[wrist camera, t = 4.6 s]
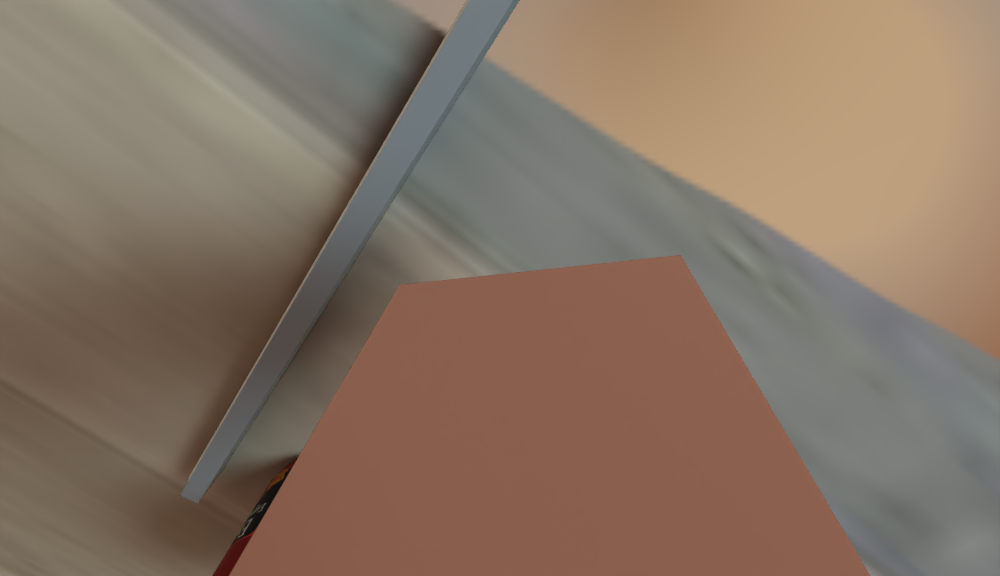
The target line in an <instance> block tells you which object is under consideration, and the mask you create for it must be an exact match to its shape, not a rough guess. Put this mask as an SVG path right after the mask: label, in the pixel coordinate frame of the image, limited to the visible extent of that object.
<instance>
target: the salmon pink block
mask: <svg viewBox="0 0 1000 576" xmlns="http://www.w3.org/2000/svg"><path fill="white" fill-rule="evenodd" d="M229 576H870V575H869V573H868V571H867V569H866V568H865V566H864V564H863V563H862V561H861V559H860V558H859V556H858V554H857V553H856V551H855V549H854V547H853V546H852V544H851V542H850V541H849V539H848V537H847V536H846V534H845V532H844V531H843V529H842V527H841V526H840V524H839V522H838V520H837V519H836V517H835V515H834V514H833V512H832V510H831V509H830V507H829V505H828V504H827V502H826V500H825V498H824V497H823V495H822V493H821V492H820V490H819V488H818V487H817V485H816V483H815V482H814V480H813V478H812V477H811V475H810V473H809V471H808V470H807V468H806V466H805V465H804V463H803V461H802V460H801V458H800V456H799V455H798V453H797V451H796V449H795V448H794V446H793V444H792V443H791V441H790V439H789V438H788V436H787V434H786V433H785V431H784V429H783V428H782V426H781V424H780V422H779V421H778V419H777V417H776V416H775V414H774V412H773V411H772V409H771V407H770V406H769V404H768V402H767V400H766V399H765V397H764V395H763V394H762V392H761V390H760V389H759V387H758V385H757V384H756V382H755V380H754V379H753V377H752V375H751V373H750V372H749V370H748V368H747V367H746V365H745V363H744V362H743V360H742V358H741V357H740V355H739V353H738V351H737V350H736V348H735V346H734V345H733V343H732V341H731V340H730V338H729V336H728V335H727V333H726V331H725V330H724V328H723V326H722V324H721V323H720V321H719V319H718V318H717V316H716V314H715V313H714V311H713V309H712V308H711V306H710V304H709V302H708V301H707V299H706V297H705V296H704V294H703V292H702V291H701V289H700V287H699V286H698V284H697V282H696V281H695V279H694V277H693V275H692V274H691V272H690V270H689V269H688V267H687V265H686V264H685V262H684V260H683V259H682V257H681V255H677V256H668V257H658V258H649V259H639V260H630V261H620V262H611V263H602V264H592V265H583V266H573V267H564V268H555V269H545V270H536V271H526V272H517V273H507V274H498V275H489V276H479V277H470V278H460V279H451V280H442V281H432V282H423V283H413V284H404V285H399V287H398V288H397V290H396V292H395V293H394V295H393V297H392V298H391V300H390V302H389V304H388V305H387V307H386V309H385V310H384V312H383V314H382V316H381V317H380V319H379V321H378V322H377V324H376V326H375V327H374V329H373V331H372V333H371V334H370V336H369V338H368V339H367V341H366V343H365V345H364V346H363V348H362V350H361V351H360V353H359V355H358V357H357V358H356V360H355V362H354V363H353V365H352V367H351V368H350V370H349V372H348V374H347V375H346V377H345V379H344V380H343V382H342V384H341V386H340V387H339V389H338V391H337V392H336V394H335V396H334V397H333V399H332V401H331V403H330V404H329V406H328V408H327V409H326V411H325V413H324V415H323V416H322V418H321V420H320V421H319V423H318V425H317V426H316V428H315V430H314V432H313V433H312V435H311V437H310V438H309V440H308V442H307V444H306V445H305V447H304V449H303V450H302V452H301V454H300V455H299V457H298V459H297V461H296V462H295V464H294V466H293V467H292V469H291V471H290V473H289V474H288V476H287V478H286V479H285V481H284V483H283V484H282V486H281V488H280V490H279V491H278V493H277V495H276V496H275V498H274V500H273V502H272V503H271V505H270V507H269V508H268V510H267V512H266V514H265V515H264V517H263V519H262V520H261V522H260V524H259V525H258V527H257V529H256V531H255V532H254V534H253V536H252V537H251V539H250V541H249V543H248V544H247V546H246V548H245V549H244V551H243V553H242V554H241V556H240V558H239V560H238V561H237V563H236V565H235V566H234V568H233V570H232V572H231V573H230V575H229Z"/></svg>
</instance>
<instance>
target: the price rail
mask: <svg viewBox="0 0 1000 576" xmlns="http://www.w3.org/2000/svg"><path fill="white" fill-rule="evenodd" d="M519 1H520V0H467V1H466V2H465V4H464V6H463V7H462V9H461V11H460V13H459V14H458V16H457V18H456V19H455V21H454V23H453V24H452V26H451V28H450V30H449V31H448V33H447V35H446V36H445V38H444V40H443V42H442V43H441V45H440V47H439V48H438V50H437V52H436V54H435V55H434V57H433V59H432V60H431V62H430V64H429V66H428V67H427V69H426V71H425V72H424V74H423V76H422V78H421V79H420V81H419V83H418V84H417V86H416V88H415V90H414V91H413V93H412V95H411V96H410V98H409V100H408V102H407V103H406V105H405V107H404V109H403V110H402V112H401V114H400V115H399V117H398V119H397V121H396V122H395V124H394V126H393V127H392V129H391V131H390V133H389V134H388V136H387V138H386V139H385V141H384V143H383V145H382V146H381V148H380V150H379V151H378V153H377V155H376V157H375V158H374V160H373V162H372V163H371V165H370V167H369V169H368V170H367V172H366V174H365V175H364V177H363V179H362V181H361V182H360V184H359V186H358V188H357V189H356V191H355V193H354V194H353V196H352V198H351V200H350V201H349V203H348V205H347V206H346V208H345V210H344V212H343V213H342V215H341V217H340V218H339V220H338V222H337V224H336V225H335V227H334V229H333V230H332V232H331V234H330V236H329V237H328V239H327V241H326V242H325V244H324V246H323V248H322V249H321V251H320V253H319V254H318V256H317V258H316V260H315V261H314V263H313V265H312V267H311V268H310V270H309V272H308V273H307V275H306V277H305V279H304V280H303V282H302V284H301V285H300V287H299V289H298V291H297V292H296V294H295V296H294V297H293V299H292V301H291V303H290V304H289V306H288V308H287V309H286V311H285V313H284V315H283V316H282V318H281V320H280V321H279V323H278V325H277V327H276V328H275V330H274V332H273V334H272V335H271V337H270V339H269V340H268V342H267V344H266V346H265V347H264V349H263V351H262V352H261V354H260V356H259V358H258V359H257V361H256V363H255V364H254V366H253V368H252V370H251V371H250V373H249V375H248V376H247V378H246V380H245V382H244V383H243V385H242V387H241V388H240V390H239V392H238V394H237V395H236V397H235V399H234V400H233V402H232V404H231V406H230V407H229V409H228V411H227V413H226V414H225V416H224V418H223V419H222V421H221V423H220V425H219V426H218V428H217V430H216V431H215V433H214V435H213V437H212V438H211V440H210V442H209V443H208V445H207V447H206V449H205V450H204V452H203V454H202V455H201V457H200V459H199V461H198V462H197V464H196V466H195V467H194V469H193V471H192V473H191V474H190V476H189V478H188V480H189V481H188V483H187V484H186V486H185V488H184V489H183V491H182V493H181V495H180V496H182V497H184V498H186V499H188V500H190V501H192V502H195V503H197V504H198V503H199V501H200V500H201V499H202V497H203V496H204V495H205V493H206V492H207V491H208V489H209V488H210V487H211V485H212V484H213V483H214V481H215V480H216V478H217V477H218V476H219V474H220V473H221V471H222V470H223V468H224V467H225V465H226V464H227V462H228V460H229V459H230V457H231V456H232V454H233V452H234V451H235V449H236V448H237V446H238V445H239V443H240V441H241V440H242V438H243V437H244V435H245V433H246V432H247V430H248V429H249V427H250V426H251V424H252V422H253V421H254V419H255V418H256V416H257V415H258V413H259V411H260V410H261V408H262V407H263V405H264V403H265V402H266V400H267V399H268V397H269V396H270V394H271V392H272V391H273V389H274V388H275V386H276V385H277V383H278V381H279V380H280V378H281V377H282V375H283V373H284V372H285V370H286V369H287V367H288V366H289V364H290V362H291V361H292V359H293V358H294V356H295V354H296V353H297V351H298V350H299V348H300V347H301V345H302V343H303V342H304V340H305V339H306V337H307V336H308V334H309V332H310V331H311V329H312V328H313V326H314V324H315V323H316V321H317V320H318V318H319V317H320V315H321V313H322V312H323V310H324V309H325V307H326V306H327V304H328V302H329V301H330V299H331V298H332V296H333V294H334V293H335V291H336V290H337V288H338V287H339V285H340V283H341V282H342V280H343V279H344V277H345V275H346V274H347V272H348V271H349V269H350V268H351V266H352V264H353V263H354V261H355V260H356V258H357V257H358V255H359V253H360V252H361V250H362V249H363V247H364V245H365V244H366V242H367V241H368V239H369V238H370V236H371V234H372V233H373V231H374V230H375V228H376V227H377V225H378V223H379V222H380V220H381V219H382V217H383V215H384V214H385V212H386V211H387V209H388V208H389V206H390V204H391V203H392V201H393V200H394V198H395V196H396V195H397V193H398V192H399V190H400V189H401V187H402V185H403V184H404V182H405V181H406V179H407V178H408V176H409V174H410V173H411V171H412V170H413V168H414V166H415V165H416V163H417V162H418V160H419V159H420V157H421V155H422V154H423V152H424V151H425V149H426V148H427V146H428V144H429V143H430V141H431V140H432V138H433V136H434V135H435V133H436V132H437V130H438V129H439V127H440V125H441V124H442V122H443V121H444V119H445V117H446V116H447V114H448V113H449V111H450V110H451V108H452V106H453V105H454V103H455V102H456V100H457V99H458V97H459V95H460V94H461V92H462V91H463V89H464V87H465V86H466V84H467V83H468V81H469V80H470V78H471V76H472V75H473V73H474V72H475V70H476V69H477V67H478V65H479V64H480V62H481V61H482V59H483V57H484V56H485V54H486V53H487V51H488V50H489V48H490V46H491V45H492V43H493V42H494V40H495V38H496V37H497V35H498V34H499V32H500V31H501V29H502V27H503V26H504V24H505V23H506V21H507V20H508V18H509V16H510V15H511V13H512V12H513V10H514V8H515V7H516V5H517V4H518V2H519Z"/></svg>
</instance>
